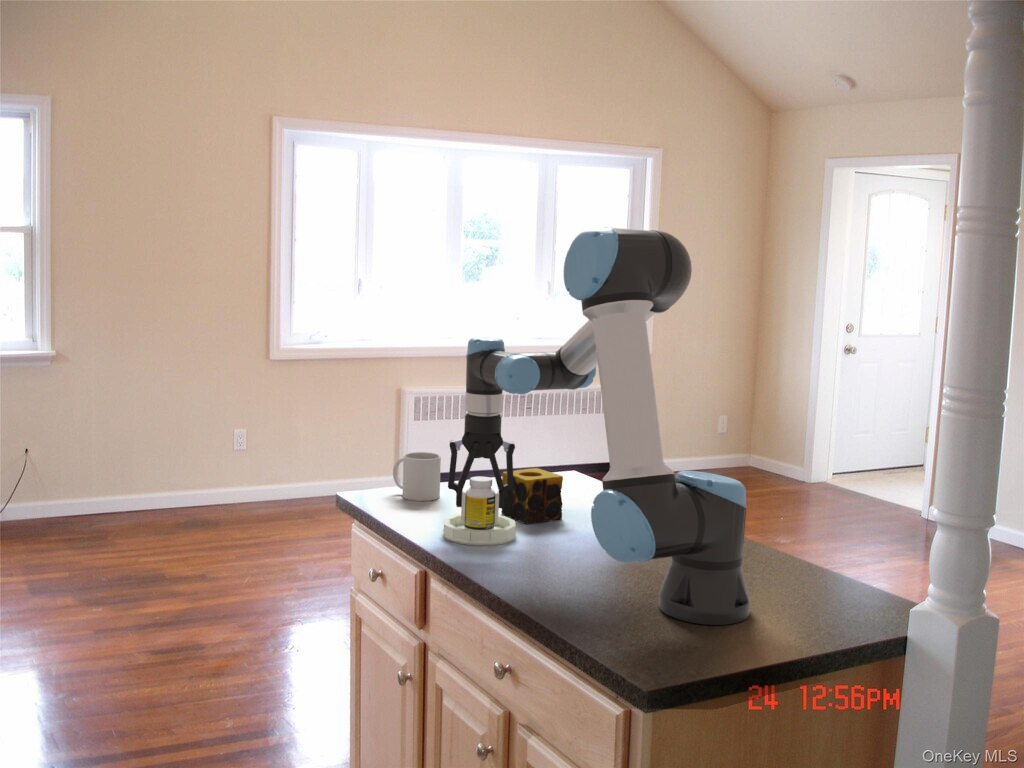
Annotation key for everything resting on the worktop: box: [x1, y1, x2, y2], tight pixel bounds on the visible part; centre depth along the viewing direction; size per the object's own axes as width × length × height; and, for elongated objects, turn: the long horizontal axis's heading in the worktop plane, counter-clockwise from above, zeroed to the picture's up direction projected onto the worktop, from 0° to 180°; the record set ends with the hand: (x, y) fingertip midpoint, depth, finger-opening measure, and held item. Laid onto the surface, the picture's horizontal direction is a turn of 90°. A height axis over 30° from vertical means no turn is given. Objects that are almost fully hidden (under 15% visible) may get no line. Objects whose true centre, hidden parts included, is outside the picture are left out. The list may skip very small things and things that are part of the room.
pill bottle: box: [464, 475, 496, 531], centre depth 208 cm, size 6×6×11 cm
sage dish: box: [442, 513, 517, 547], centre depth 209 cm, size 15×15×3 cm
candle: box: [501, 467, 564, 525], centre depth 225 cm, size 10×10×10 cm
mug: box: [392, 451, 442, 502], centre depth 240 cm, size 11×10×10 cm
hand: (479, 522), depth 209 cm, fingers closed on pill bottle, 6 cm apart
